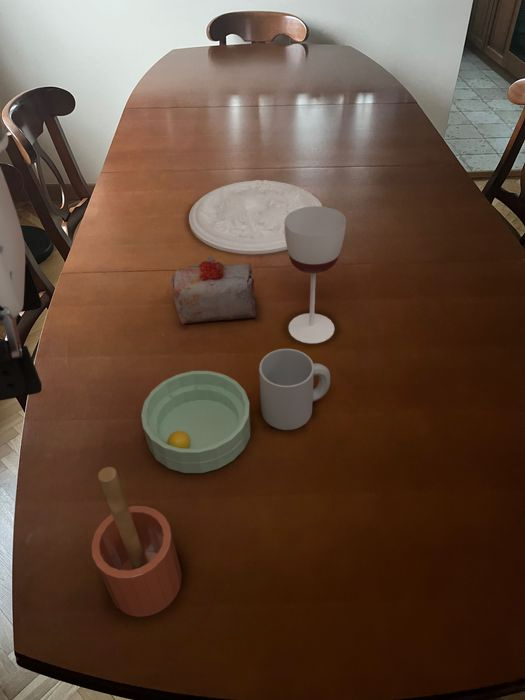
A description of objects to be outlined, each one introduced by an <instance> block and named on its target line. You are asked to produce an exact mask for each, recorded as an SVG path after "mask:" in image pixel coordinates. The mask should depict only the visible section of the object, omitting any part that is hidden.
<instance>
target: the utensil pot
mask: <svg viewBox="0 0 525 700" xmlns="http://www.w3.org/2000/svg"><path fill="white" fill-rule="evenodd" d="M128 508H129V510H130V513H131V516H132V519H133V522H134V525H135V528H136V531H137V534H138V537H139V540H140V543H141V546H142V549H143V552H144V555H145V558H146V561H147V564H146V565H144V566H142V567H141V568H137V569H134V570H133V568H132V565H131V563H130V560H129V557H128V555H127V552H126V549H125V547H124V544H123V541H122V539H121V536H120V534H119V531H118V528H117V526H116V523H115V520H114V518H113V515H112V513H111V514H109V515H108V516H107V517H106V518H105V519H103V520H102V522H101V523H100V524H99V526H98V527H97V529H96V530H95V532H94V534H93V538H92V541H91V557H92V559H93V561H94V564H95V565H96V567H97V571H98V573H99V575H100V577H101V579H102V581H103V583H104V585H105V587H106V589H107V591H108V594H109V596H110V597H111V600H112V602H113V604H114V605H115V606H116V608H117V609H118V610H119V611H121V612H122V613H124V614H126V615H128V616H131V617H139V618H143V617H144V618H145V617H150V616H153V615H155V614H157V613H160V612H162V611H163V610H164V609H166V608H167V607H168V606H169V605H171V603H172V602H173V601H174V600H175V598H176V597H177V595H178V593H179V591H180V589H181V585H182V581H183V580H182V579H183V578H182V576H183V573H182V568H181V564H180V563H181V562H180V559H179V556H178V552H177V547H176V544H175V540H174V537H173V534H172V529H171V526H170V523H169V521H168V520H167V518H166V516H165V515H164V514H162V513H161V512H160V511H159V510H157V509H155V508H153V507H149V506H146V505H131V506H128Z"/></svg>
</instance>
